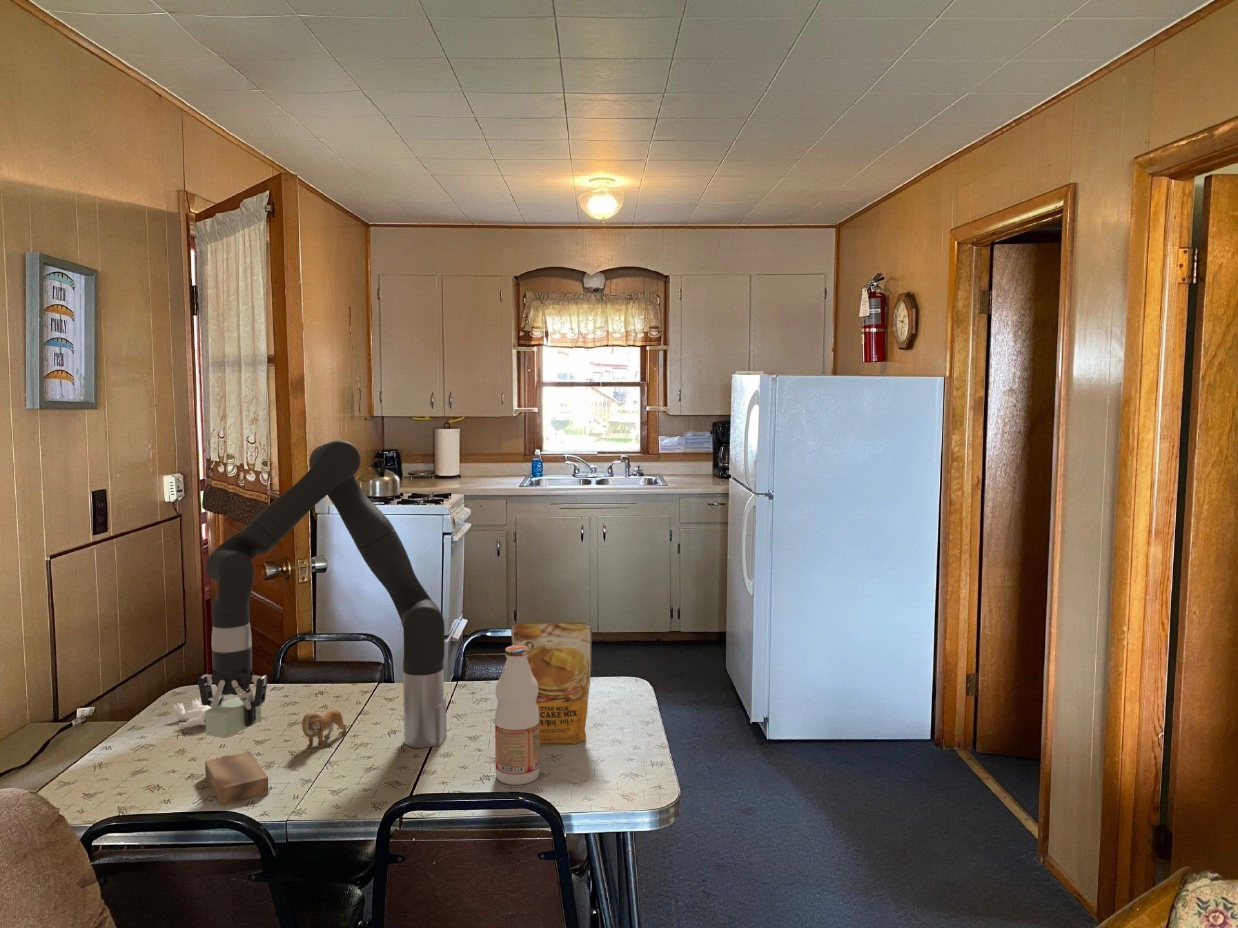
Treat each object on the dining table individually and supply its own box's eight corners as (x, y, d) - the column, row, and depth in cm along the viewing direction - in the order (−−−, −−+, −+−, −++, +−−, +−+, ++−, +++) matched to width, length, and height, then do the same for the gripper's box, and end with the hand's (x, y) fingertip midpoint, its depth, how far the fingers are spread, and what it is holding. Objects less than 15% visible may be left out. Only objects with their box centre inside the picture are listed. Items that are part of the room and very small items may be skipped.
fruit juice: (506, 789, 178) (505, 657, 176) (488, 773, 186) (487, 645, 184) (547, 779, 183) (546, 650, 181) (527, 763, 191) (527, 639, 189)
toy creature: (209, 693, 223) (232, 692, 216) (212, 717, 223) (236, 716, 216) (161, 706, 214) (184, 706, 207) (165, 731, 213) (188, 731, 206)
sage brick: (261, 720, 183) (260, 697, 183) (225, 738, 174) (224, 714, 173) (242, 717, 185) (241, 695, 184) (206, 734, 175) (205, 710, 175)
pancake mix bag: (513, 734, 208) (512, 620, 205) (592, 734, 208) (592, 620, 206) (510, 745, 201) (509, 627, 199) (592, 745, 201) (591, 627, 199)
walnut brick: (250, 768, 189) (249, 750, 189) (268, 796, 176) (268, 777, 176) (205, 779, 184) (204, 760, 184) (220, 808, 171) (220, 788, 171)
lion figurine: (316, 755, 195) (315, 716, 195) (296, 753, 197) (295, 714, 196) (352, 731, 209) (351, 695, 209) (332, 729, 211) (331, 693, 210)
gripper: (274, 640, 181) (276, 718, 183) (207, 639, 182) (209, 717, 183) (257, 651, 174) (259, 732, 175) (188, 650, 174) (190, 731, 176)
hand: (234, 724), depth 179 cm, fingers closed on sage brick, 6 cm apart
